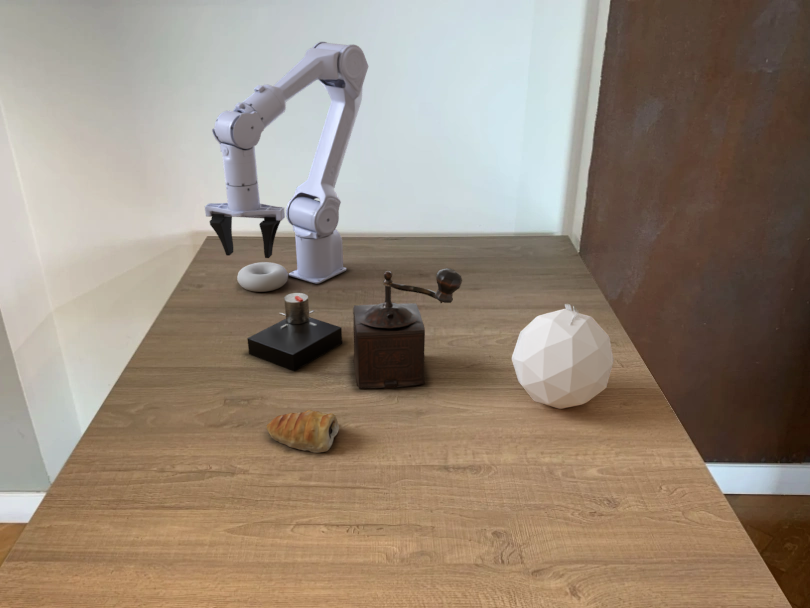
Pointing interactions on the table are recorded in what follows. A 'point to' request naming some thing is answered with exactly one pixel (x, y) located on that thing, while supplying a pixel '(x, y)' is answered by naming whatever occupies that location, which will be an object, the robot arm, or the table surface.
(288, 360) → the stove
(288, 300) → the stove knob
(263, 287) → the donut
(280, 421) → the pastry
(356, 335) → the manual coffee grinder
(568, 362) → the geodesic sphere
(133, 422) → the table surface
